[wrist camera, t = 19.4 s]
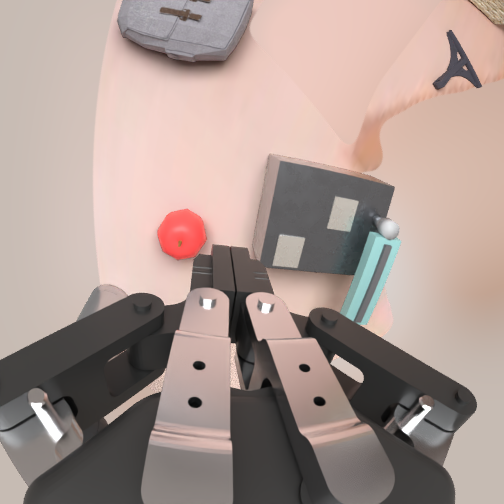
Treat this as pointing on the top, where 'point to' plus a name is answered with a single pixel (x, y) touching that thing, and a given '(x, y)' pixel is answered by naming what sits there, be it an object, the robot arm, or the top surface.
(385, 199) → the box
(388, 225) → the bar
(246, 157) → the top surface
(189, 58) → the small grey backpack
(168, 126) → the top surface
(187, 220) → the apple
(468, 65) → the squeegee
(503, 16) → the storage basket
